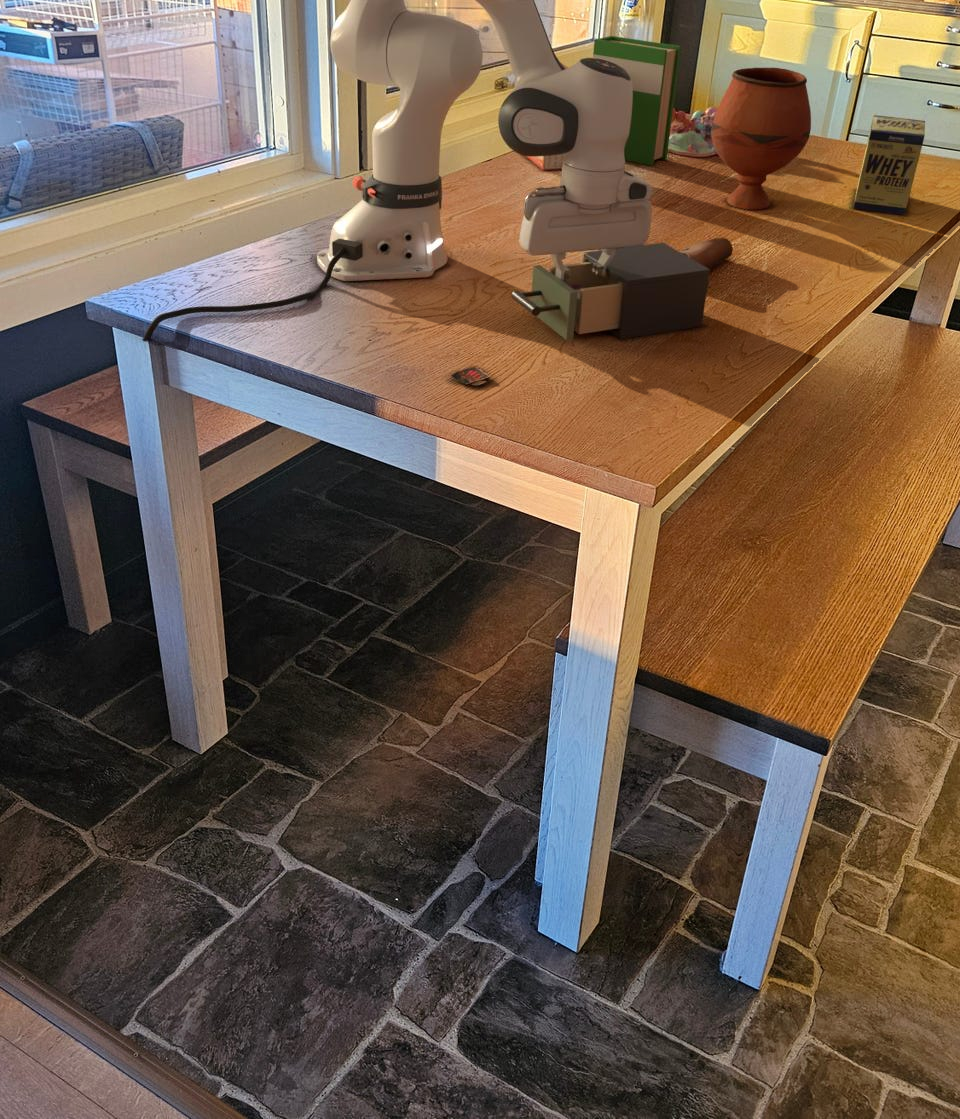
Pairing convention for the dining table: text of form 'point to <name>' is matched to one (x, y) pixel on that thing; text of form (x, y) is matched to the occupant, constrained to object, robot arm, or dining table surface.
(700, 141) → the candy landscape model
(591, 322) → the drawer
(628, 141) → the hardback book
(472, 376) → the matchbox
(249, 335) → the dining table surface
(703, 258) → the sunglasses case
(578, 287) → the beige rectangular block
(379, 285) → the dining table surface
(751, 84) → the goblet
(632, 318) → the black storage box
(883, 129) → the protein box
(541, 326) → the dining table surface
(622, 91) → the robot arm
